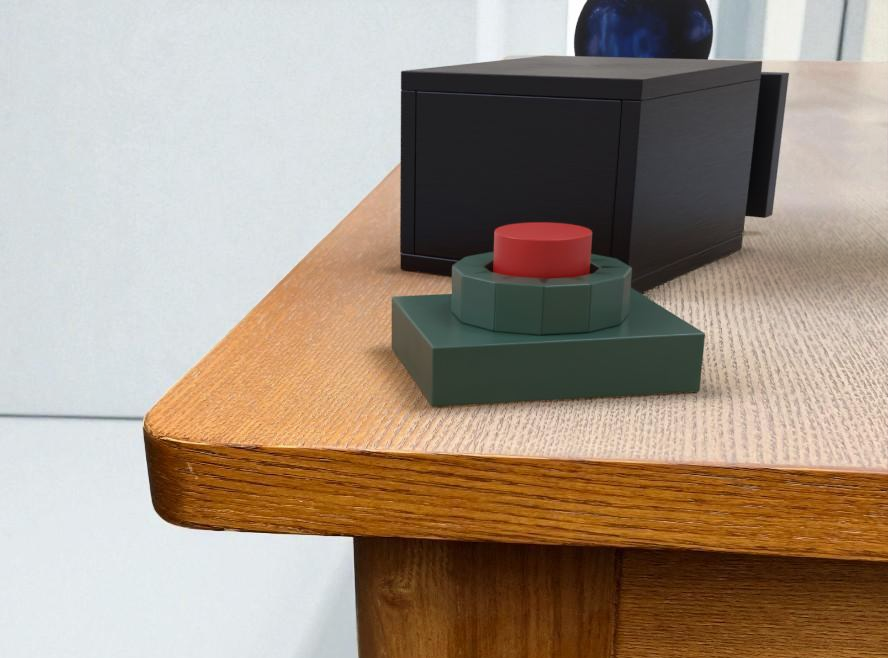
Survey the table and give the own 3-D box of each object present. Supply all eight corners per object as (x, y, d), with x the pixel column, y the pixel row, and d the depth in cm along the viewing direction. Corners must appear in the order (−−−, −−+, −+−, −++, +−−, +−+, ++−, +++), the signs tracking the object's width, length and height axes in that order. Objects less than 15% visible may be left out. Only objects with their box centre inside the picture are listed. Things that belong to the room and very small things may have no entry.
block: (624, 337, 54) (631, 241, 52) (700, 392, 47) (711, 282, 45) (391, 349, 53) (391, 251, 51) (431, 407, 45) (433, 295, 44)
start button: (572, 265, 50) (574, 220, 49) (602, 285, 47) (605, 237, 46) (482, 270, 50) (484, 224, 49) (506, 290, 46) (508, 241, 46)
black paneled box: (537, 227, 78) (544, 55, 74) (741, 249, 71) (762, 60, 67) (399, 270, 67) (400, 70, 63) (625, 301, 60) (642, 79, 56)
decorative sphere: (561, 114, 141) (569, -35, 135) (579, 102, 154) (587, -34, 148) (702, 117, 137) (717, -37, 131) (708, 104, 150) (722, -36, 144)
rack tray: (622, 190, 85) (631, 63, 82) (797, 205, 78) (814, 68, 75) (483, 231, 72) (487, 81, 68) (679, 253, 65) (694, 89, 62)
